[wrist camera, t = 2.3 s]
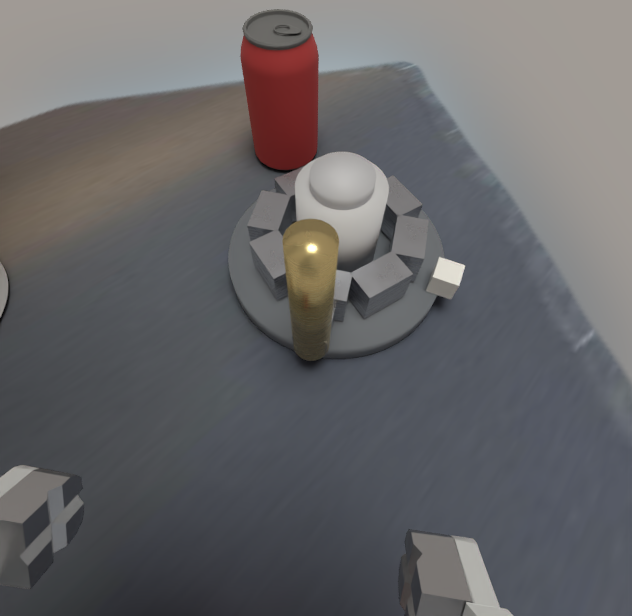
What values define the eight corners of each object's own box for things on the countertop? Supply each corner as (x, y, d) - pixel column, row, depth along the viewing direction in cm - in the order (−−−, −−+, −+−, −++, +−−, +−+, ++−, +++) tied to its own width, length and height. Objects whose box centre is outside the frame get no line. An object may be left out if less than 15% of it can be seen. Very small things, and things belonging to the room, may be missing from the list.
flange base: (201, 331, 31) (158, 256, 22) (266, 176, 40) (253, 77, 31) (441, 384, 29) (497, 324, 20) (455, 209, 38) (498, 113, 29)
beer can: (308, 179, 39) (306, 54, 29) (246, 167, 40) (223, 41, 30) (323, 137, 43) (327, 11, 32) (266, 127, 43) (251, 1, 33)
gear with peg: (280, 178, 36) (268, 42, 26) (424, 203, 35) (471, 69, 25) (217, 340, 28) (162, 235, 18) (401, 381, 27) (456, 292, 17)
